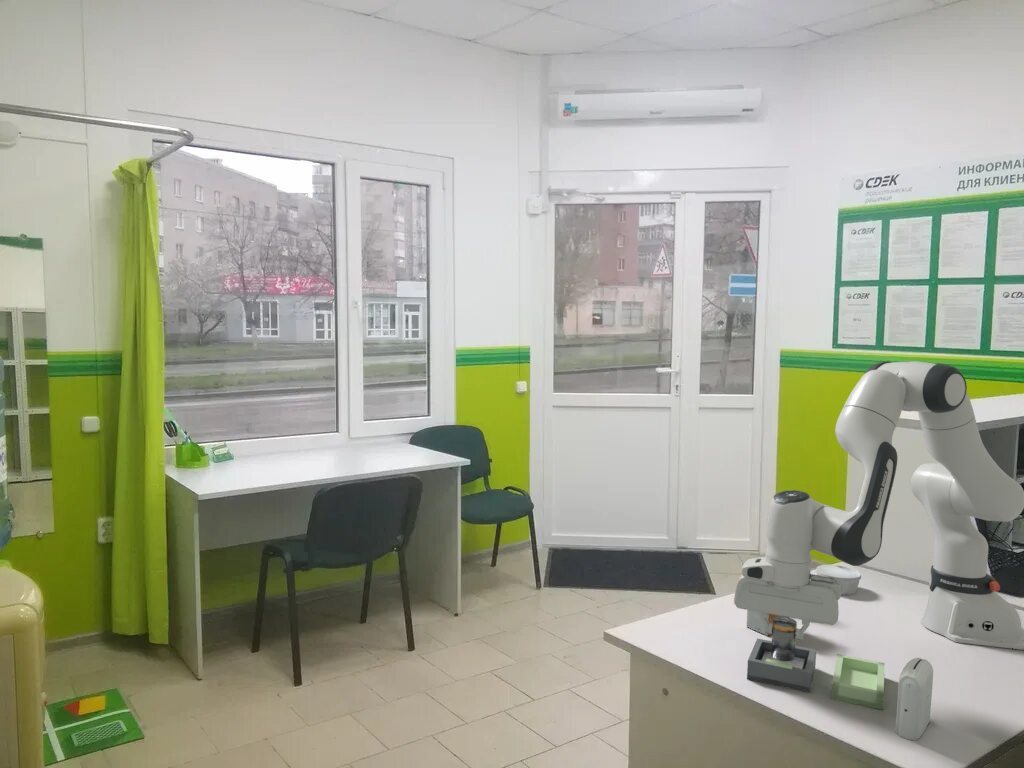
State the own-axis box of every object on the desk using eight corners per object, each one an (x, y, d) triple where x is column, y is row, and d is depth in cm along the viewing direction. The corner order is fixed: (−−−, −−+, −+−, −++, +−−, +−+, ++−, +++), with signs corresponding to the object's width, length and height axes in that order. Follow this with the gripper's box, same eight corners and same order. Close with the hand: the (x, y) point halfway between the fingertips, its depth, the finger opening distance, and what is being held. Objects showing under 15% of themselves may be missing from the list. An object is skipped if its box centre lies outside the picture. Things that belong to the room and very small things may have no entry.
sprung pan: (804, 662, 163) (804, 658, 163) (800, 678, 156) (800, 674, 156) (764, 654, 167) (765, 650, 167) (759, 669, 159) (759, 665, 159)
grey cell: (796, 654, 162) (798, 617, 161) (793, 663, 158) (795, 625, 157) (772, 649, 164) (774, 612, 163) (769, 658, 160) (771, 620, 159)
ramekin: (866, 590, 212) (868, 571, 211) (848, 600, 204) (850, 581, 204) (826, 579, 220) (827, 561, 219) (808, 588, 212) (809, 570, 212)
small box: (767, 636, 180) (770, 582, 179) (745, 627, 185) (748, 573, 184) (790, 629, 184) (793, 576, 183) (767, 620, 190) (770, 568, 188)
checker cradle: (815, 668, 164) (816, 647, 164) (809, 692, 153) (810, 670, 153) (756, 656, 169) (757, 635, 169) (746, 679, 159) (748, 657, 158)
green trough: (883, 677, 161) (884, 663, 160) (882, 709, 147) (883, 694, 147) (836, 667, 165) (837, 653, 164) (831, 698, 151) (832, 683, 151)
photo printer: (918, 744, 136) (923, 675, 135) (892, 735, 139) (896, 668, 137) (932, 721, 144) (937, 656, 142) (907, 712, 146) (911, 649, 145)
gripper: (843, 574, 158) (839, 640, 159) (739, 558, 167) (736, 621, 168) (841, 584, 152) (837, 652, 153) (734, 567, 161) (731, 631, 162)
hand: (783, 635), depth 161 cm, fingers closed on grey cell, 4 cm apart
